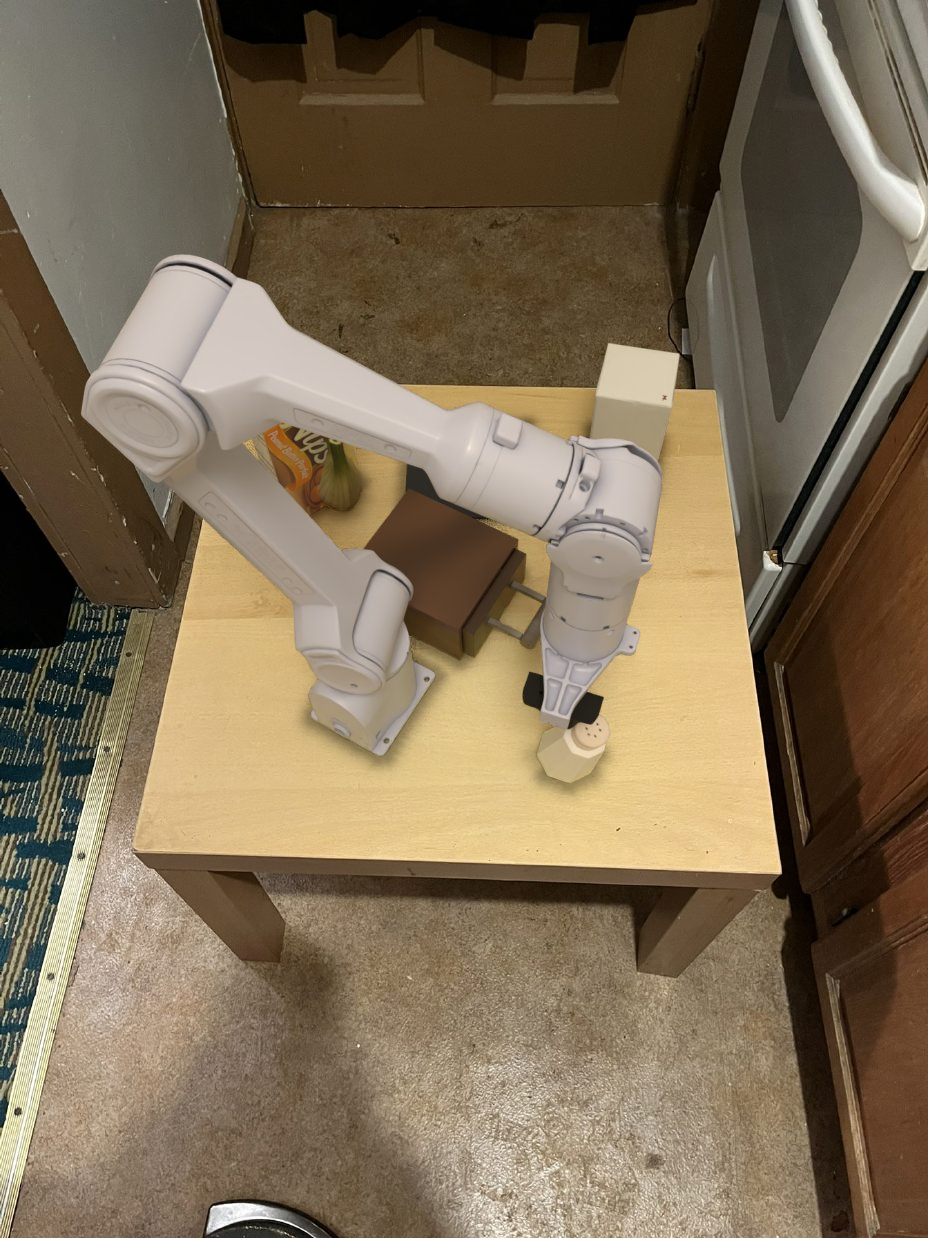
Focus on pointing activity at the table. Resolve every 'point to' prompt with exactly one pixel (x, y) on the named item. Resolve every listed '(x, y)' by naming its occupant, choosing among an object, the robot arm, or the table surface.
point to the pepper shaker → (573, 749)
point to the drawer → (502, 608)
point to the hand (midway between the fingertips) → (572, 680)
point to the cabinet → (441, 565)
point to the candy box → (296, 461)
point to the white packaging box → (635, 396)
